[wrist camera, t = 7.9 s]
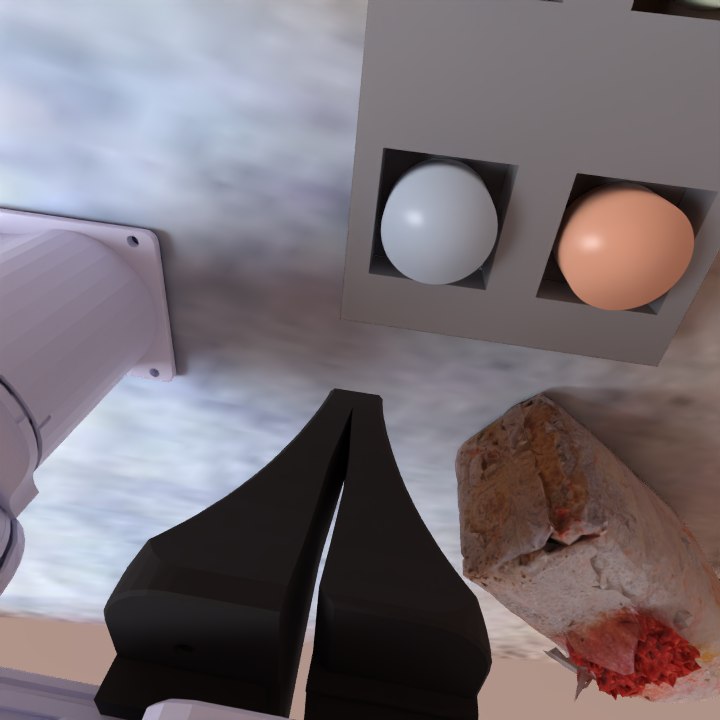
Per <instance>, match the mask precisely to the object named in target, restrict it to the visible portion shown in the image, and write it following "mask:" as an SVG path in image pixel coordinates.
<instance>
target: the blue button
mask: <svg viewBox="0 0 720 720" xmlns="http://www.w3.org/2000/svg"><path fill="white" fill-rule="evenodd" d="M497 227H498V222H497V214H496V210H495V207H494V204H493V202H492V199H491V197H490V194H489V191H488V189H487V186H486V185H485V183H484V181H483V179H482V178H481V177H480V176H479V174H478V173H477V172H476V171H475V170H473V169H472V168H471V167H469V166H468V165H466V164H464V163H462V162H460V161H457V160H453V159H448V158H434V159H429V160H425V161H422V162H420V163H418V164H416V165H414V166H412V167H411V168H409V169H408V170H407V171H405V172H404V173H403V174H402V175H401V176H400V177H399V179H398V180H397V181H396V183H395V184H394V186H393V188H392V190H391V192H390V194H389V197H388V200H387V204H386V207H385V210H384V214H383V217H382V223H381V238H382V243H383V247H384V250H385V252H386V254H387V256H388V258H389V259H390V261H391V262H392V264H393V265H394V266H395V267H396V268H397V269H398V270H399V271H400V272H401V273H403V274H404V275H406V276H407V277H409V278H411V279H413V280H415V281H418V282H421V283H426V284H435V285H437V284H447V283H452V282H455V281H458V280H461V279H463V278H465V277H467V276H468V275H470V274H471V273H473V272H474V271H476V270H477V269H478V268H479V267H480V266H481V265H482V264H483V263H484V261H485V260H486V259H487V257H488V256H489V254H490V252H491V250H492V248H493V246H494V243H495V240H496V236H497Z"/></svg>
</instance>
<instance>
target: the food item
mask: <svg viewBox="0 0 720 720" xmlns="http://www.w3.org/2000/svg"><path fill="white" fill-rule="evenodd" d="M455 470H456V476H457V481H458V490H457V492H458V508H459V512H460V514H459V520H460V540H461V554H462V555H463V557H464V560H463V575H464V576H465V577H466V578H468V579H469V580H470V581H472V582H474V583H476V584H477V585H479V586H480V587H482V588H483V589H484V590H486V591H487V592H489V593H490V594H492V595H493V596H494V597H495V598H496V599H497V600H498V601H499V602H500V603H501V604H503V605H504V606H505V607H506V608H507V609H509V610H510V611H511V612H512V613H514V614H516V615H517V616H519V617H520V618H522V619H523V620H524V621H525V622H527V623H528V624H529V625H530V626H531V627H533V628H534V629H535V630H537V631H538V632H539V633H541V634H543V635H544V636H546V637H547V638H549V639H550V640H552V641H553V642H554V643H556V644H557V645H558V646H559V647H561V648H562V649H563V650H565V652H566V655H567V658H566V657H565V656H564V655H563V654H562V653H561V652H560V651H559V650H558V649H557V648H556V647H555V648H554V649H552V650H550V651H549V652H547V651H544V650H543V651H544V652H545V653H546V654H547V655H548V656H550V657H551V658H553V659H555V660H556V661H558V662H559V663H561V664H562V665H563V666H565V667H566V668H568V669H570V670H571V671H573V672H574V673H576V674H577V681H578V686H577V690H576V694H577V695H576V696H575V700H576V699H577V697H578V694H579V693H580V692H581V691H582V689H584V688H587V687H588V685H589V684H590V682H591V681H592V679H594V680H596V682H597V685H598V686H599V691H603V692H606V693H607V694H609V695H612V696H613V697H614V699H615V700H616V698H617V694H620V695H621V696H622V697H624V696H630V697H638V698H642V699H645V700H648V701H653V702H664V703H689V702H695V701H702V700H709V699H711V698H713V697H715V696H717V695H719V694H720V579H718V577H717V576H716V574H715V572H714V571H713V569H712V567H711V565H710V563H709V561H708V560H707V558H706V557H705V555H704V553H703V552H702V550H701V549H700V547H699V545H698V543H697V541H696V540H695V538H694V536H693V535H692V533H691V532H690V530H689V529H688V528H687V527H686V525H685V524H684V523H683V522H682V521H681V519H680V518H679V517H678V516H677V515H676V514H675V513H674V512H673V510H672V509H671V508H670V507H669V506H668V505H667V504H666V503H665V502H664V501H663V500H662V499H660V498H659V497H658V496H657V495H656V494H655V493H654V492H653V491H652V490H651V489H650V488H649V487H648V486H647V485H646V484H645V483H643V482H642V481H641V480H640V479H639V478H637V477H636V476H635V475H634V474H633V473H632V472H631V470H630V469H629V468H628V467H627V466H626V465H625V464H624V463H623V462H622V461H621V460H620V459H619V458H618V457H617V456H616V455H615V454H614V453H613V452H612V451H610V450H609V449H608V448H607V447H605V446H604V445H603V444H602V443H601V442H600V441H599V440H598V439H597V438H596V437H595V436H594V435H593V434H592V433H590V432H589V431H588V430H587V429H586V428H585V427H583V426H582V425H581V424H580V423H579V422H578V421H576V420H575V419H574V418H573V417H572V416H571V415H570V414H569V413H567V412H566V411H565V410H564V409H563V408H562V407H561V406H560V405H558V404H557V403H555V402H554V401H553V400H551V399H549V398H546V397H545V396H544V395H543V394H542V393H541V394H539V395H536V396H534V397H532V398H531V399H529V400H527V401H526V402H524V403H523V404H520V403H519V404H517V405H515V406H513V407H512V408H511V409H509V410H508V411H507V412H506V413H505V414H504V415H503V416H502V417H501V418H499V419H498V420H496V421H495V422H493V423H492V424H490V425H489V426H488V427H486V428H485V429H483V430H482V431H480V432H479V433H478V434H476V435H474V436H473V437H472V438H470V439H469V440H468V441H466V442H465V443H464V444H463V445H462V446H461V447H460V448H459V450H458V453H457V457H456V460H455ZM585 682H587V683H586V684H585Z"/></svg>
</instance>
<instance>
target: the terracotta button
mask: <svg viewBox="0 0 720 720" xmlns="http://www.w3.org/2000/svg"><path fill="white" fill-rule="evenodd" d="M693 249H694V234H693V229H692V226H691V224H690V222H689V220H688V218H687V217H686V215H685V214H684V213H683V212H682V211H681V210H680V209H678V208H677V207H676V206H674V205H673V204H671V203H670V202H668V201H667V200H665V199H664V198H662V197H661V196H659V195H657V194H656V193H654V192H653V191H651V190H650V189H648V188H646V187H644V186H642V185H639V184H636V183H631V182H614V183H608V184H604V185H601V186H598V187H596V188H594V189H591V190H590V191H588V192H586V193H584V194H583V195H581V196H580V197H579V198H577V199H576V200H575V201H574V202H573V203H572V204H571V205H570V206H569V207H568V208H567V209H566V211H565V212H564V213H563V216H562V219H561V222H560V225H559V228H558V231H557V234H556V237H555V240H554V243H553V253H554V257H555V260H556V262H557V264H558V266H559V268H560V270H561V271H562V273H563V275H564V276H565V278H566V280H567V282H568V283H569V285H570V287H571V289H572V290H573V291H574V293H575V294H576V295H577V296H578V297H579V298H580V299H581V300H583V301H584V302H585V303H587V304H589V305H591V306H594V307H596V308H600V309H605V310H626V309H631V308H636V307H639V306H642V305H645V304H647V303H649V302H651V301H653V300H655V299H657V298H658V297H660V296H661V295H663V294H664V293H666V292H667V291H668V290H669V289H670V288H671V287H673V286H674V284H675V283H676V282H677V281H678V280H679V279H680V278H681V276H682V275H683V274H684V272H685V270H686V268H687V267H688V265H689V262H690V260H691V257H692V254H693Z"/></svg>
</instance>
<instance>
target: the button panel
mask: <svg viewBox="0 0 720 720" xmlns="http://www.w3.org/2000/svg"><path fill="white" fill-rule="evenodd" d="M633 2H634V0H551V1H542V0H368V9H367V21H366V32H365V43H364V55H363V66H362V77H361V89H360V100H359V112H358V123H357V134H356V146H355V157H354V168H353V180H352V191H351V202H350V214H349V225H348V237H347V248H346V259H345V271H344V282H343V293H342V305H341V316H340V319H343V320H350V321H356V322H363V323H370V324H376V325H383V326H390V327H396V328H403V329H410V330H416V331H423V332H430V333H436V334H443V335H450V336H456V337H463V338H470V339H476V340H483V341H490V342H496V343H503V344H510V345H516V346H523V347H530V348H536V349H543V350H550V351H556V352H563V353H570V354H576V355H583V356H590V357H596V358H603V359H610V360H616V361H623V362H630V363H636V364H643V365H650V366H656V367H657V366H658V365H659V363H660V361H661V359H662V357H663V355H664V353H665V351H666V349H667V348H668V346H669V344H670V342H671V340H672V338H673V336H674V334H675V333H676V331H677V329H678V327H679V325H680V323H681V321H682V319H683V318H684V316H685V314H686V312H687V310H688V308H689V306H690V304H691V302H692V301H693V299H694V297H695V295H696V293H697V291H698V289H699V287H700V286H701V284H702V282H703V280H704V278H705V276H706V274H707V272H708V271H709V269H710V267H711V265H712V263H713V261H714V259H715V257H716V255H717V254H718V252H719V250H720V21H718V20H709V19H701V18H692V17H683V16H674V15H665V14H657V13H648V12H639V11H631V8H632V5H633ZM387 148H390V149H398V150H406V151H413V152H421V153H428V154H436V155H444V156H451V157H459V158H467V159H474V160H482V161H489V162H497V163H505V164H509V166H508V169H507V173H506V177H505V181H504V185H503V189H502V193H501V197H500V201H499V205H498V209H497V213H496V214H497V222H498V227H497V236H496V240H495V243H494V246H493V248H492V250H491V252H490V254H489V256H488V257H487V259H486V260H485V261H484V263H483V267H482V271H481V270H476V271H474V272H473V273H471V274H470V275H468V276H467V277H465V278H463V279H461V280H458V281H455V282H452V283H447V284H437V285H435V284H426V283H421V282H418V281H415V280H413V279H411V278H409V277H407V276H406V275H404V274H403V273H401V272H400V271H399V270H398V269H397V268H396V267H395V266H394V265H393V264H392V262H391V261H390V259H389V258H388V257H383V256H376V255H374V249H375V240H376V232H377V224H378V216H379V207H380V199H381V191H382V183H383V174H384V166H385V158H386V150H387ZM577 173H581V174H589V175H596V176H604V177H612V178H619V179H627V180H634V181H642V182H650V183H657V184H665V185H673V186H680V187H687V189H686V191H685V193H684V195H683V197H682V199H681V202H680V204H679V206H678V209H680V210H681V211H682V212H683V213H684V214H685V215H686V217H687V218H688V220H689V222H690V224H691V226H692V229H693V234H694V249H693V254H692V257H691V260H690V262H689V265H688V267H687V268H686V270H685V272H684V274H683V275H682V276H681V278H680V279H679V280H678V281H677V282H676V283H675V284H674V286H673V287H671V288H670V289H669V290H668V291H667V292H666V293H664V294H663V295H661V296H660V297H658V298H657V299H655V300H653V301H651V302H649V303H647V304H645V305H642V306H639V307H636V308H631V309H626V310H605V309H600V308H596V307H594V306H591V305H589V304H587V303H585V302H584V301H583V300H581V299H580V298H579V297H578V296H577V295H576V294H575V293H574V291H573V290H572V289H571V287H570V285H569V283H565V282H558V281H551V280H544V279H542V276H543V273H544V270H545V267H546V264H547V261H548V258H549V255H550V252H551V249H552V246H553V243H554V240H555V237H556V234H557V231H558V228H559V225H560V222H561V219H562V216H563V213H564V210H565V207H566V204H567V201H568V198H569V195H570V192H571V189H572V186H573V183H574V180H575V177H576V174H577Z"/></svg>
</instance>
